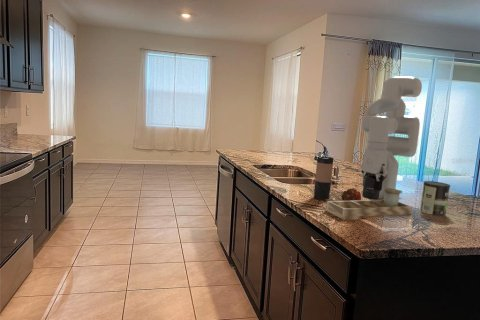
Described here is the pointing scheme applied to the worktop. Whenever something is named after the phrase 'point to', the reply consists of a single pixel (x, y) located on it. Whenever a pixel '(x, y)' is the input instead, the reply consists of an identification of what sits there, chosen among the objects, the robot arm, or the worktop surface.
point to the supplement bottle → (370, 187)
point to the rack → (364, 209)
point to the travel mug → (323, 178)
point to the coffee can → (434, 198)
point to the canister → (391, 197)
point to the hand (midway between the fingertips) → (371, 188)
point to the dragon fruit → (351, 195)
